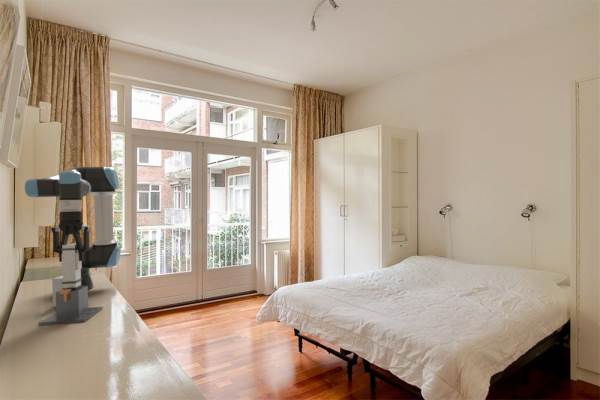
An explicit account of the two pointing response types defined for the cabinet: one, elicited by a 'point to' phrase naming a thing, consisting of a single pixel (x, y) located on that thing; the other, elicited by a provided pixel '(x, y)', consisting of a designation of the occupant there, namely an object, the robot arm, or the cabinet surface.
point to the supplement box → (56, 287)
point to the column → (70, 268)
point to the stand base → (71, 307)
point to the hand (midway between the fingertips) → (71, 269)
